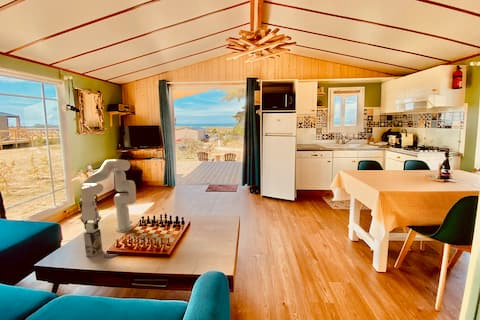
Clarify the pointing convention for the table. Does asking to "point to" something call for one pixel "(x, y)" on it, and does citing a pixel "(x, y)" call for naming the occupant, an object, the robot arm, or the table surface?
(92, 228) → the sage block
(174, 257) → the table surface
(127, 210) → the robot arm
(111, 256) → the grey round disc
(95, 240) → the coffee box
